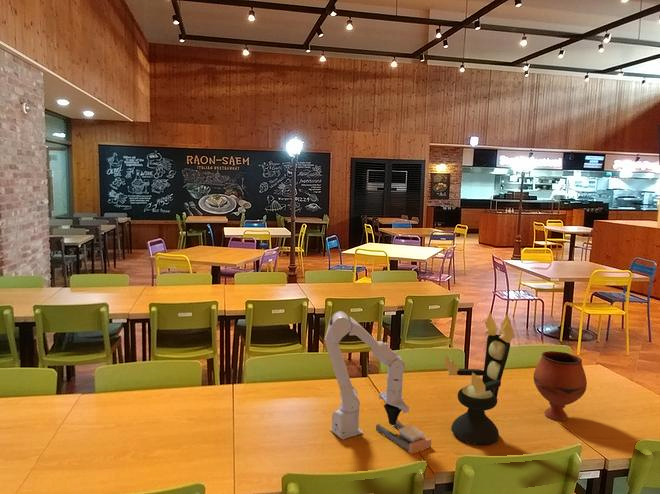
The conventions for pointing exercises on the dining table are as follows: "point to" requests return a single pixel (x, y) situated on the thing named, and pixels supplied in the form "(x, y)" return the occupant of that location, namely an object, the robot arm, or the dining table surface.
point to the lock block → (410, 434)
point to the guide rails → (410, 447)
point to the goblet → (560, 381)
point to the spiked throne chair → (482, 386)
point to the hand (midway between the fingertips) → (392, 423)
